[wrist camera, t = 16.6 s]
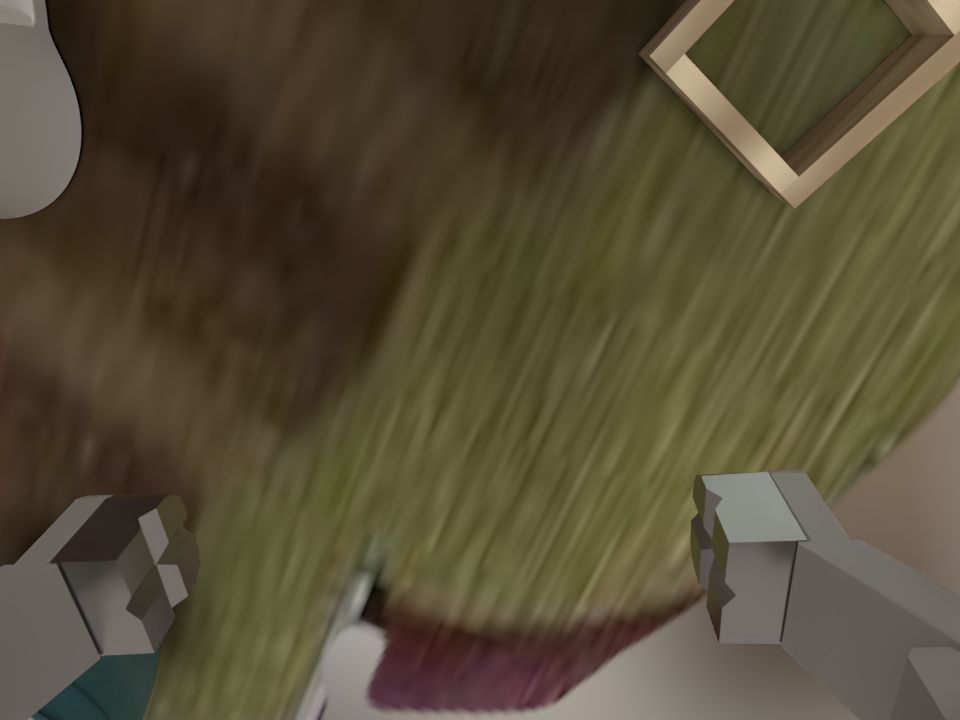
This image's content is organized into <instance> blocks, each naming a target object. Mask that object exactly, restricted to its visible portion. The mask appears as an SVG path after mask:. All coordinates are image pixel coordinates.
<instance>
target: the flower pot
mask: <svg viewBox="0 0 960 720" xmlns="http://www.w3.org/2000/svg"><path fill="white" fill-rule="evenodd" d="M172 608H173V607H172ZM161 642H162V641H161ZM160 647H161V643H160V645H159V647H158V648H157V650H156V652H155V653H147V654H126V655H105V656H100V659H99V660H98V661H97V662H96V663H95V664H93V665H92V666H91V667H90V668H89V669H87V670H86V671H85V672H84V673H83V674H82V675H80V676H79V677H78V678H77V679H76V680H74V681H73V682H72V683H71V684H70V685H68V686H67V687H66V688H65V689H64V690H62V691H61V692H60V693H59V694H58V695H56V696H55V697H54V698H53V699H52V700H50V701H49V702H48V703H47V704H46V705H44V706H43V707H42V708H41V709H40V710H39V711H37V712H36V713H35V714H34V715H33V716H31V717H30V718H29V719H28V720H142V719H143V716H144V714H145V711H146V709H147V706H148V703H149V700H150V696H151V693H152V689H153V685H154V681H155V677H156V672H157V666H158V660H159V653H160Z"/></svg>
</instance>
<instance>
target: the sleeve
mask: <svg viewBox="0 0 960 720" xmlns="http://www.w3.org/2000/svg"><path fill="white" fill-rule="evenodd" d="M733 1H734V0H686V1H685V2H684V3H683V5H682V6H681V7H680V8H679V9H678V10H677V11H676V12H675V13H674V14H673V16H672V17H671V18H670V19H669V20H668V21H667V22H666V23H665V24H664V26H663V27H662V28H661V29H660V30H659V31H658V32H657V33H656V34H655V36H654V37H653V38H652V39H651V40H650V41H649V42H648V43H647V44H646V46H645V47H644V48H643V49H642V50H641V51H640V52H639V53H638V54H639V56H640V57H641V58H642V59H643V60H644V61H645V62H646V63H647V64H648V65H649V66H650V67H651V68H652V69H653V70H654V71H655V72H656V73H657V74H658V75H659V77H660V78H661V79H662V80H663V81H664V82H665V83H666V84H667V85H668V86H669V87H670V88H671V89H672V90H673V91H674V92H675V93H676V94H677V95H678V96H679V97H680V99H681V100H682V101H683V102H684V103H685V104H686V105H687V106H688V107H689V108H690V109H691V110H692V111H693V112H694V113H695V114H696V115H697V116H698V117H699V118H700V119H701V121H702V122H703V123H704V124H705V125H706V126H707V127H708V128H709V129H710V130H711V131H712V132H713V133H714V134H715V135H716V136H717V137H718V138H719V139H720V140H721V141H722V143H723V144H724V145H725V146H726V147H727V148H728V149H729V150H730V151H731V152H732V153H733V154H734V155H735V156H736V157H737V158H738V159H739V160H740V161H741V162H742V163H743V165H744V166H745V167H746V168H747V169H748V170H749V171H750V172H751V173H752V174H753V175H754V176H755V177H756V178H757V179H758V180H759V181H760V182H761V183H762V184H763V186H764V187H765V188H766V189H767V190H768V191H769V192H770V193H771V194H773V195H774V196H776V197H777V198H779V199H780V200H782V201H783V202H785V203H787V204H788V205H790V206H791V207H793V208H794V209H795V208H796V207H797V206H798V205H799V204H800V203H801V202H803V201H804V200H805V199H806V198H807V197H808V196H809V195H810V194H812V193H813V192H814V191H815V190H816V189H817V188H818V187H819V186H821V185H822V184H823V183H824V182H825V181H826V180H827V179H828V178H830V177H831V176H832V175H833V174H834V173H835V172H836V171H837V170H839V169H840V168H841V167H842V166H843V165H844V164H845V163H846V162H848V161H849V160H850V159H851V158H852V157H853V156H854V155H855V154H857V153H858V152H859V151H860V150H861V149H862V148H863V147H864V146H866V145H867V144H868V143H869V142H870V141H871V140H872V139H873V138H874V137H876V136H877V135H878V134H879V133H880V132H881V131H882V130H883V129H885V128H886V127H887V126H888V125H889V124H890V123H891V122H892V121H894V120H895V119H896V118H897V117H898V116H899V115H900V114H901V113H903V112H904V111H905V110H906V109H907V108H908V107H909V106H910V105H912V104H913V103H914V102H915V101H916V100H917V99H918V98H919V97H921V96H922V95H923V94H924V93H925V92H926V91H927V90H928V89H930V88H931V87H932V86H933V85H934V84H935V83H936V82H937V81H939V80H940V79H941V78H942V77H943V76H944V75H945V74H946V73H948V72H949V71H950V70H951V69H952V68H953V67H954V66H955V65H956V64H958V63H959V62H960V0H884V1H885V2H886V3H887V4H888V6H889V7H890V8H891V9H892V11H893V12H894V13H895V14H896V16H897V17H898V18H899V19H900V20H901V22H902V23H903V24H904V25H905V27H906V28H907V29H908V30H909V32H910V33H911V34H912V36H910V37H909V38H908V39H907V40H906V41H905V42H904V43H903V44H902V45H901V46H900V47H899V48H898V49H896V50H895V51H894V52H893V53H892V54H891V55H890V56H889V57H888V58H887V59H886V60H885V61H884V62H883V63H881V64H880V65H879V66H878V67H877V68H876V69H875V70H874V71H873V72H872V73H871V74H870V75H869V76H868V77H866V78H865V79H864V80H863V81H862V82H861V83H860V84H859V85H858V86H857V87H856V88H855V89H854V90H853V91H851V92H850V93H849V94H848V95H847V96H846V97H845V98H844V99H843V100H842V101H841V102H840V103H839V104H838V105H836V106H835V107H834V108H833V109H832V110H831V111H830V112H829V113H828V114H827V115H826V116H825V117H824V118H823V119H821V120H820V121H819V122H818V123H817V124H816V125H815V126H814V127H813V128H812V129H811V130H810V131H809V132H808V133H806V134H805V135H804V136H803V137H802V138H801V139H800V140H799V141H798V142H797V143H796V144H795V145H794V146H793V147H791V148H790V149H789V150H788V151H787V152H786V153H785V154H784V155H783V156H782V157H780V156H779V155H778V154H777V153H776V152H775V151H774V150H773V149H772V148H771V146H770V145H769V144H768V143H767V142H766V141H765V140H764V139H763V138H762V137H761V136H760V135H759V134H758V132H757V131H756V130H755V129H754V128H753V127H752V126H751V125H750V124H749V123H748V122H747V121H746V120H745V118H744V117H743V116H742V115H741V114H740V113H739V112H738V111H737V110H736V109H735V108H734V107H733V106H732V105H731V103H730V102H729V101H728V100H727V99H726V98H725V97H724V96H723V95H722V94H721V93H720V92H719V91H718V89H717V88H716V87H715V86H714V85H713V84H712V83H711V82H710V81H709V80H708V79H707V78H706V77H705V76H704V74H703V73H702V72H701V71H700V70H699V69H698V68H697V67H696V66H695V65H694V64H693V63H692V62H691V60H690V59H689V58H688V57H687V56H686V55H685V53H686V52H687V50H688V49H689V48H690V47H691V46H692V45H693V44H694V43H695V42H696V41H697V40H698V39H699V38H700V37H701V35H702V34H703V33H704V32H705V31H706V30H707V29H708V28H709V27H710V26H711V25H712V24H713V23H714V22H715V20H716V19H717V18H718V17H719V16H720V15H721V14H722V13H723V12H724V11H725V10H726V9H727V8H728V7H729V5H730V4H731V3H732V2H733Z"/></svg>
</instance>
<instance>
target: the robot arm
mask: <svg viewBox="0 0 960 720" xmlns="http://www.w3.org/2000/svg"><path fill="white" fill-rule="evenodd" d="M80 147H81V120H80V112H79V107H78V102H77V98H76V95H75V91H74V88H73V85H72V82H71V79H70V77H69V75H68V72H67V70H66V68H65V66H64V64H63V62H62V59H61V57H60V55H59V53H58V51H57V49H56V47H55V45H54V43H53V40H52V38H51V35H50V32H49V29H48V20H47V12H46V5H45V0H0V219H11V218H18V217H23V216H27V215H30V214H33V213H35V212H37V211H39V210H41V209H43V208H45V207H46V206H48V205H49V204H51V203H52V202H53V201H54V200H55V199H56V198H57V197H58V196H59V195H60V194H61V193H62V192H63V191H64V189H65V188H66V187H67V185H68V183H69V182H70V180H71V178H72V176H73V174H74V171H75V169H76V166H77V162H78V158H79V154H80ZM693 499H694V502H695V505H696V507H697V510H698V514H697V515H696V516H695V517H694V518H693V519H692V521H691V551H692V559H693V564H694V569H695V572H696V576H697V579H698V582H699V584H700V585H702V586H703V587H704V588H706V589H707V590H708V594H707V609H708V612H709V615H710V618H711V621H712V624H713V627H714V630H715V633H716V636H717V639H718V642H719V643H741V644H745V643H747V644H782V646H781V647H782V648H783V649H784V650H785V651H786V652H788V653H789V654H790V655H791V656H792V657H793V658H794V659H795V660H796V661H797V662H798V663H799V664H800V665H801V666H803V667H804V668H805V669H806V670H807V671H808V672H809V673H810V674H811V675H812V676H814V678H815V679H817V680H818V681H819V682H820V683H821V684H822V685H823V686H824V687H825V688H826V689H827V690H828V691H829V692H831V693H832V694H833V695H834V696H835V697H836V698H837V699H838V700H839V701H840V702H841V703H842V704H844V705H845V706H846V707H847V708H848V709H849V710H850V711H851V712H852V713H853V714H855V716H857V718H859V719H860V720H960V594H958V593H956V592H954V591H952V590H951V589H949V588H947V587H945V586H943V585H942V584H940V583H938V582H936V581H934V580H933V579H931V578H929V577H927V576H925V575H923V574H922V573H920V572H918V571H916V570H915V569H913V568H911V567H909V566H907V565H906V564H903V563H902V562H900V561H898V560H896V559H895V558H893V557H891V556H889V555H887V554H886V553H884V552H882V551H880V550H878V549H877V548H875V547H873V546H871V545H869V544H868V543H866V542H864V541H862V540H850V539H849V537H848V536H847V534H846V533H845V531H844V530H843V528H842V527H841V525H840V524H839V522H838V521H837V519H836V518H835V516H834V515H833V513H832V512H831V510H830V509H829V507H828V506H827V504H826V503H825V501H824V500H823V498H822V497H821V496H820V494H819V493H818V491H817V490H816V488H815V487H814V485H813V484H812V482H811V481H810V479H809V478H808V476H807V475H806V473H805V472H804V471H802V470H800V469H785V470H770V471H764V472H751V473H729V474H707V475H696V478H695V481H694V489H693ZM186 517H187V512H186V510H185V507H184V505H183V502H182V500H181V498H179V497H177V496H175V495H174V494H138V495H114V496H113V495H97V496H85V497H82V498H79V499H76V500H75V501H74V502H73V503H72V504H71V505H70V506H69V507H68V509H67V510H66V511H65V512H64V513H63V514H62V515H61V516H60V517H59V518H58V519H57V520H56V521H55V522H54V523H53V524H52V525H51V526H50V527H49V528H48V529H47V530H46V532H45V533H44V534H43V535H42V536H41V537H40V538H39V539H38V540H37V541H36V542H35V543H34V544H33V545H32V546H31V547H30V548H29V549H28V550H27V551H26V552H25V553H24V555H23V556H22V557H21V558H20V559H19V560H18V561H17V562H16V563H15V564H14V565H3V566H1V567H0V720H28V719H29V718H30V717H31V716H33V715H34V714H35V713H36V712H37V711H39V710H40V709H41V708H42V707H43V706H44V705H46V704H47V703H48V702H49V701H50V700H52V699H53V698H54V697H55V696H56V695H58V694H59V693H60V692H61V691H62V690H64V689H65V688H66V687H67V686H68V685H70V684H71V683H72V682H73V681H74V680H76V679H77V678H78V677H79V676H80V675H82V674H83V673H84V672H85V671H86V670H87V669H89V668H90V667H91V666H92V665H93V664H95V663H96V662H97V661H98V660H99V659H100V656H105V655H126V654H147V653H155V652H156V650H157V648H158V647H159V645H160V643H161V641H162V640H163V638H164V636H165V635H166V633H167V631H168V630H169V628H170V626H171V625H172V623H173V621H174V619H175V615H174V612H173V608H172V607H173V606H175V605H176V604H178V603H179V602H180V601H182V600H183V599H185V598H186V597H187V596H188V595H189V594H190V592H191V590H192V588H193V586H194V585H195V583H196V580H197V575H198V571H199V566H200V557H199V548H198V545H197V542H196V539H195V536H193V535H192V534H191V533H190V532H189V531H187V530H186V529H185V528H184V527H183V526H182V525H183V523H184V521H185V519H186Z"/></svg>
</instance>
